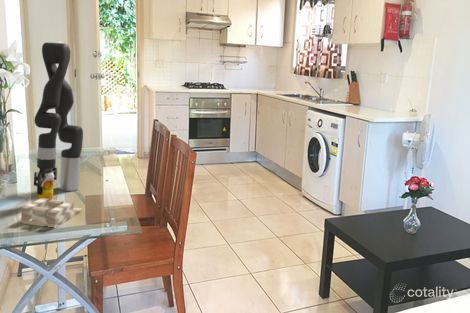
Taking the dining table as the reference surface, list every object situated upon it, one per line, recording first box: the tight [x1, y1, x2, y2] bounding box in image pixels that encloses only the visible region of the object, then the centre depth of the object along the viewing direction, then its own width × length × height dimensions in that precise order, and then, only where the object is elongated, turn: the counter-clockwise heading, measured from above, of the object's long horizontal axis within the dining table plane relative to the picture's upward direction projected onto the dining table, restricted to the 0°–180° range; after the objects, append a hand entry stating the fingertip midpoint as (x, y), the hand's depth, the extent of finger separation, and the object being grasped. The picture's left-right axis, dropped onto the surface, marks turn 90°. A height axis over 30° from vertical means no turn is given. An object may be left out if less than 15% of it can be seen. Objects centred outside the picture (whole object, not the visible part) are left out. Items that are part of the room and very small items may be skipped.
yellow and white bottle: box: [37, 171, 55, 201], centre depth 183 cm, size 6×6×15 cm
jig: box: [20, 198, 83, 228], centre depth 169 cm, size 22×14×6 cm, turn 174°
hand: (45, 192), depth 183 cm, fingers open, 8 cm apart
